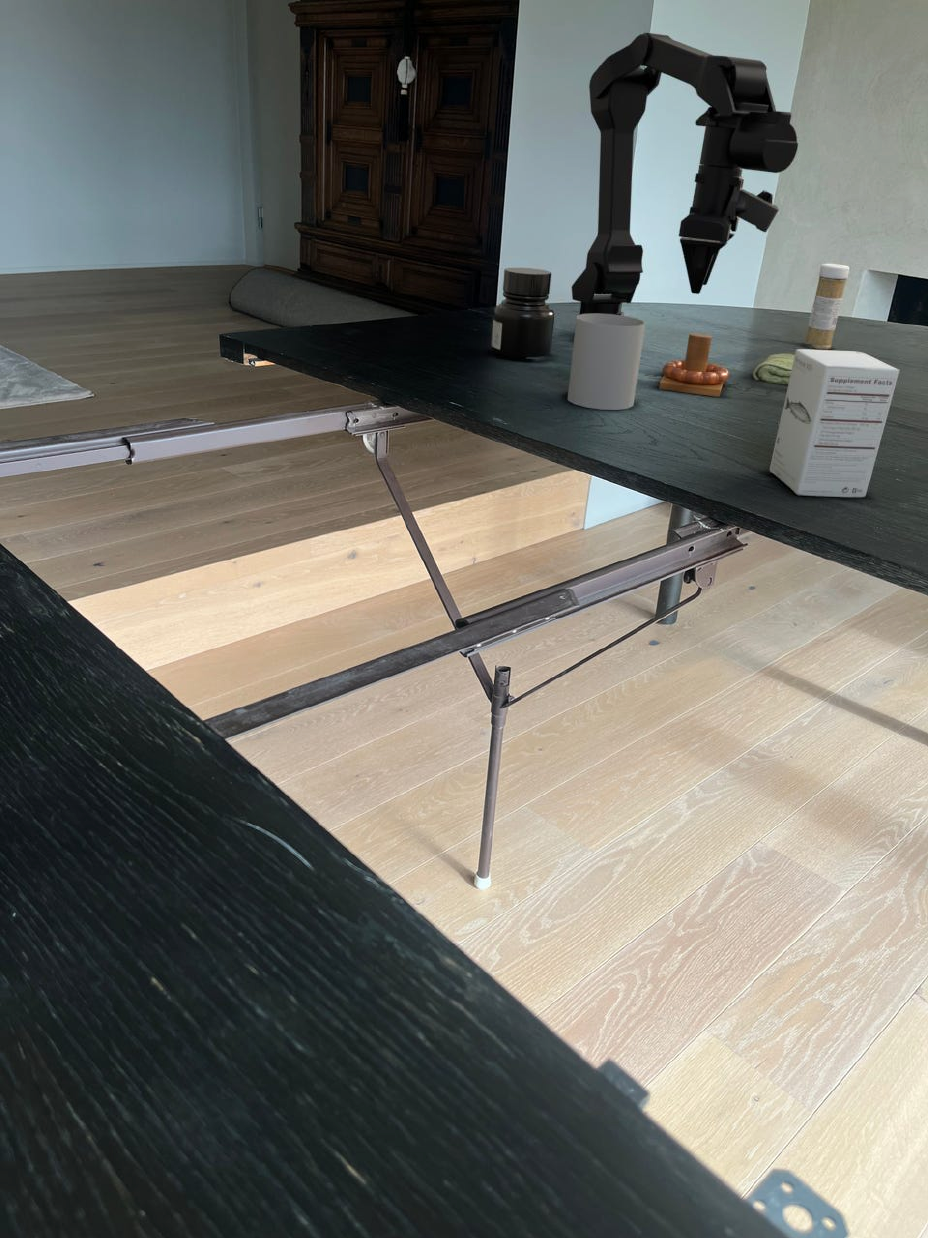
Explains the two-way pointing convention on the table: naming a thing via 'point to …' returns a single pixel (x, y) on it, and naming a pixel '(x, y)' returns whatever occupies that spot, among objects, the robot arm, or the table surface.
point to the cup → (605, 361)
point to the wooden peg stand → (694, 368)
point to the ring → (695, 373)
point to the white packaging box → (832, 422)
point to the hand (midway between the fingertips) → (699, 288)
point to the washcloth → (775, 369)
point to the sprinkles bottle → (826, 305)
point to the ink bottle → (523, 315)
